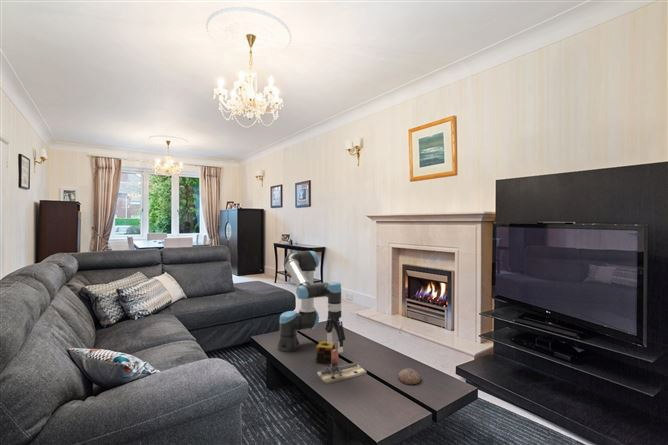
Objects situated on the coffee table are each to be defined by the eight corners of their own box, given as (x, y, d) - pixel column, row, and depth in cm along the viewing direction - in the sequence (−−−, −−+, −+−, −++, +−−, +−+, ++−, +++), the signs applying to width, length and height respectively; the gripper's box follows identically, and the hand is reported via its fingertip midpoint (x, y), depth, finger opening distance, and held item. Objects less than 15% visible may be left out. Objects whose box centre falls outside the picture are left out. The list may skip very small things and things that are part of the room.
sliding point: (329, 369, 184) (329, 349, 183) (336, 367, 186) (336, 348, 185) (337, 377, 175) (337, 356, 174) (345, 375, 177) (344, 354, 176)
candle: (332, 364, 193) (332, 348, 193) (315, 363, 195) (315, 346, 195) (335, 357, 203) (335, 341, 203) (320, 356, 205) (319, 340, 205)
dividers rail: (320, 373, 180) (320, 368, 180) (356, 364, 190) (356, 360, 190) (327, 380, 172) (327, 375, 172) (364, 371, 182) (364, 366, 182)
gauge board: (317, 374, 181) (317, 371, 181) (355, 365, 192) (355, 362, 192) (326, 383, 170) (326, 381, 170) (366, 373, 182) (366, 371, 182)
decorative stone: (412, 388, 166) (412, 377, 166) (393, 379, 175) (393, 369, 175) (424, 380, 175) (424, 370, 175) (406, 372, 183) (406, 362, 183)
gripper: (319, 306, 192) (319, 341, 192) (339, 316, 170) (339, 357, 169) (330, 304, 195) (331, 339, 195) (351, 314, 173) (351, 354, 173)
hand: (335, 347), depth 182 cm, fingers open, 13 cm apart
